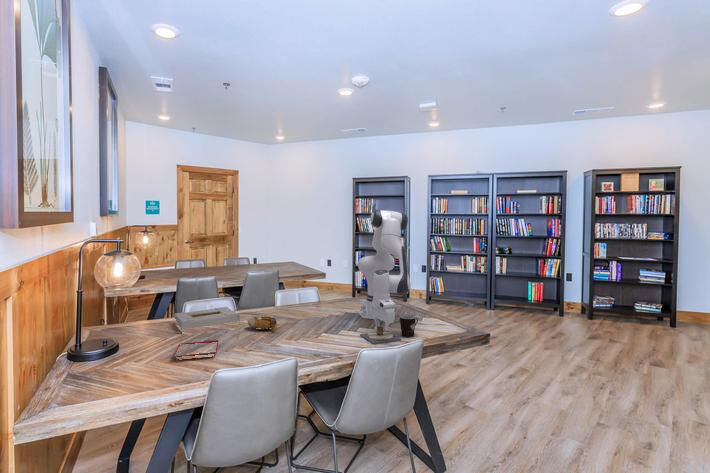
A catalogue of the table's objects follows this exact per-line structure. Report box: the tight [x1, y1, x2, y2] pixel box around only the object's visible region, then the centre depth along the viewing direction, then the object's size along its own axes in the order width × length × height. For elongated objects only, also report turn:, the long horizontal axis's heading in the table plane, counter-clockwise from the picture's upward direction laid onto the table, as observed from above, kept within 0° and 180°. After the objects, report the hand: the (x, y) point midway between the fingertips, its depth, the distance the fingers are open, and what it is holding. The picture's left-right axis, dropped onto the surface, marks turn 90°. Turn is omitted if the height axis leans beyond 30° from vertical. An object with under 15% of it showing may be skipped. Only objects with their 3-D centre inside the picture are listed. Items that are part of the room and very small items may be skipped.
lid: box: [368, 325, 394, 340], centre depth 203 cm, size 13×13×5 cm
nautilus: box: [247, 314, 278, 333], centre depth 218 cm, size 8×22×15 cm
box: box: [173, 306, 240, 329], centre depth 228 cm, size 23×8×32 cm
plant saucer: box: [173, 339, 220, 358], centre depth 180 cm, size 18×18×3 cm
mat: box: [359, 330, 402, 345], centre depth 203 cm, size 16×16×1 cm
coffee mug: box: [399, 314, 419, 338], centre depth 208 cm, size 12×9×10 cm
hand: (381, 328), depth 202 cm, fingers open, 8 cm apart
